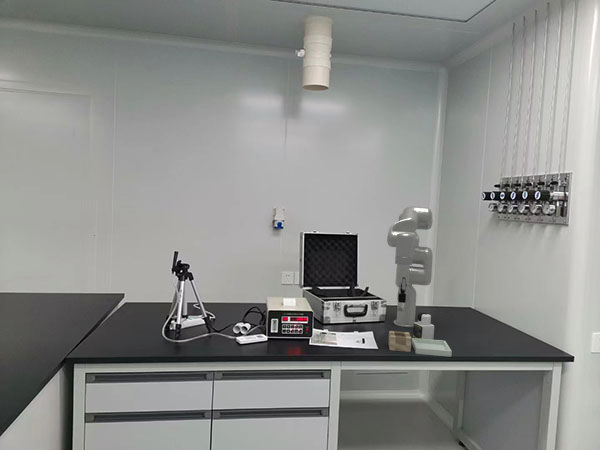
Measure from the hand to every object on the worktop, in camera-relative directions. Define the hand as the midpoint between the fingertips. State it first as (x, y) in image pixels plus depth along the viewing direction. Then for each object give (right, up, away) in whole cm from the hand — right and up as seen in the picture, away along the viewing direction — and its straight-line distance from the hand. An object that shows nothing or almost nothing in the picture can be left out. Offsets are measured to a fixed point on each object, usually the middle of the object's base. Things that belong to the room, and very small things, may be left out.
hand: (401, 301), depth 203 cm
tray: (+13, -22, 0) cm, 26 cm away
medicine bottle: (+14, -21, +17) cm, 31 cm away
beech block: (-1, -21, +1) cm, 21 cm away
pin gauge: (0, -4, 0) cm, 4 cm away
